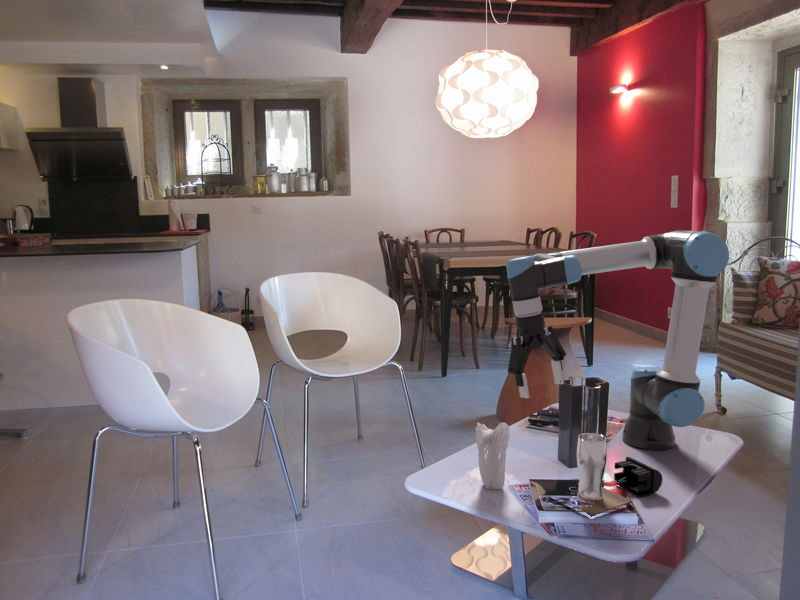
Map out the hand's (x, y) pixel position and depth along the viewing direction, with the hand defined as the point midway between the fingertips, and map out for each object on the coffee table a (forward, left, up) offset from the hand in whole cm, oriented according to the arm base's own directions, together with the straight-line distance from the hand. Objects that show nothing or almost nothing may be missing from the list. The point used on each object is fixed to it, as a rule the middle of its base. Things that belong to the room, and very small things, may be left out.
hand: (542, 390), depth 183 cm
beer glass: (+5, +23, -21) cm, 31 cm away
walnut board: (+5, +23, -22) cm, 32 cm away
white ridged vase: (+20, +4, -22) cm, 30 cm away
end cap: (-11, +24, -22) cm, 34 cm away
